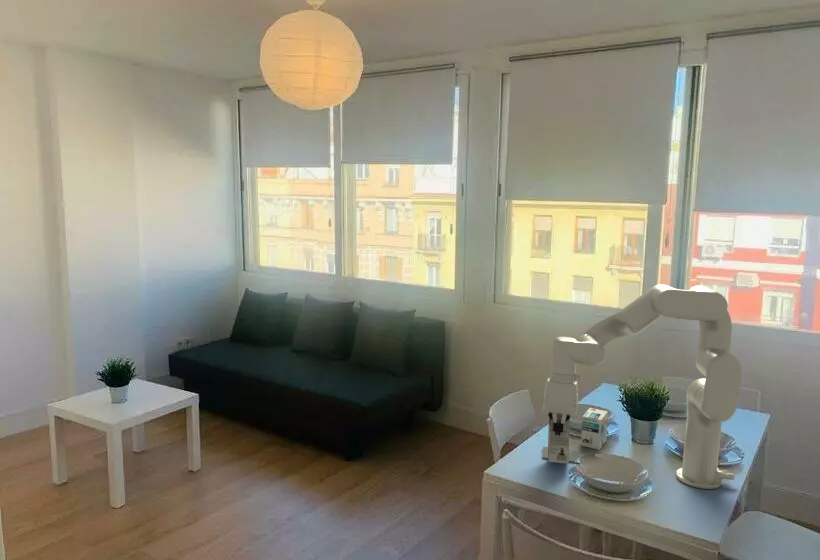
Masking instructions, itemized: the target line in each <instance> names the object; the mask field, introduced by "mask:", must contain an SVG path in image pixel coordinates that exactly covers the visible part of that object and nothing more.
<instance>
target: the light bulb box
mask: <svg viewBox="0 0 820 560" xmlns="http://www.w3.org/2000/svg"><path fill="white" fill-rule="evenodd" d="M608 419H609V412H608V411H607V410H602V409H597V408H592V407H589V408H588V409H587V410H586V412H584V415H582V421H581V422H582V423H581V440H580V446H581V447H585V448H589V449H594V450H598V451H600V450H601V448H602V447H603V445H605V443H606V441H607V434H608V433H607V432H608V423H609V422H608Z"/></svg>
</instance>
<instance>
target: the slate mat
mask: <svg viewBox="0 0 820 560" xmlns="http://www.w3.org/2000/svg"><path fill="white" fill-rule="evenodd" d="M580 453H581V451H580V450H576V449H575V450H574V449H569V463H570V462H571V463H573V464H575V463H574V462H575V461H576V460H577V459H578V458H579V457H580V458H581V454H580ZM541 457H542V460H547V461H548V446H543V447H542V456H541Z"/></svg>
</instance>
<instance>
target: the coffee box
mask: <svg viewBox="0 0 820 560" xmlns="http://www.w3.org/2000/svg"><path fill="white" fill-rule="evenodd" d="M561 416H562V414H557V419H558V425H559V421H560V419H561ZM553 424H554V422H553V420H552V419H551V418H550V417H549V416H548V432H547V433H548V434H547V435H548V436H547V437H548V438H547V439H548V441H547V447H548V460H547V462H549V463H558V464H559V463H560V464H570V462H569V450H570V419H569V420H567V421H566V422H565V423H564V425H563V433H562V432H561V434H560V436H559V435H555V432H554V431H553Z"/></svg>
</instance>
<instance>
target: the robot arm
mask: <svg viewBox="0 0 820 560" xmlns="http://www.w3.org/2000/svg"><path fill="white" fill-rule="evenodd" d="M728 307H729V305H728V301H727V299H726V297H725V296H724V295H722V293H720V292H718V291H715V290H713V289H711V288H709V287H706V286H704V285H694V286H692V287H690V288H688V289H679V288H674V287H672V286H669V285H667V284H661V283H660V284H656V285H654V286H652V287H651V288H649V289H648V290H646V291H645V292H644V293H642V294H641V295H640V296H638V297H637V298H635V299H634V300H633V301H631V302H630V303H628V304H627V305H626V306H625V307H624V308H622V309H621V310H620V311H618V312H616V313H613V314H612V315H611V314H610V316H608V317H605V318H604V319H602V320H600V321H598V322H596V323H595V324H594V325H593V326H591V327H590V328H588V329H587V330H585V331H584V332H583V333H582V334H581V335H579V336H578V337H577V339H576V338H573V337H570V336H557V337H555V338H554V339H553V341H552V350H551V351H552V352H551V361H550V373H549V377H548V378H547V379H546V383H545V387H544V393H543V395H544V396H543V402H542V403H543V405H542V406H543V407H542V409H541V414H542V415H544V416H548V418H549V417H550V418H551V419H552V420H553V422H554V424H553V431H554V432H555V435H559V436H560V434H561V432H562V433H563V425H564V423H565V422H566V421H567V420H569V419H571V420H572V419H577V418H578V413H577V410H578V398H579V396H578V394H579V390H578V380H581V375H580V374H577V372H576V371H577V364H580V365H585V366H589V367H595V366H599V365H601V364H602V363H604V361H605V360H606V356H607V354H606V350H605V348H604V347H606V346H607V345H608V344H610V343H611V342H613V341H615V340H617V339H620V338H622V337H623V338H624V337H631V336H636V335H638V334H640V333H642V332H643V331H645V330H646V329H648V328H649V326H651V325H653V324H654V323H655V322H657V321H658V320H659V319H661V318H662V317H663V318H667V319H674V320H684V321H698V323H699V335H698V343H697V347H696V349H697V350H696V354H695V367H696V369H697V370H698V371H699V372H700V373H701V374H702V376H705V378H704V377H703V378H702V377H701V378H698V379H695V380H694V381H692V382H691V383H690V384H689V385H688V388H687V390H686V425H685V434H684V435H685V436H684V446H683V455H682V456H683V457H682V467H680V468H678V469H677V470H676V473H675V474H676V475H675V476H676V478H677V479H678V481H681V482H682V483H684V484H685V485H688V486H689V487H692V488H697V489H702V490H714V489H715V490H716V489H718V488H720V487H721V486H722V482H723V481H722V480H723V479H724V480H727V481H728V480H729V481H734V480H735V474H734V473H732V472H731V473H730V472H728V470H726V469H719V467H718V463H719V453H720V444H721V443H720V441H721V435H722V423H725V422H727V421H729V420H731V419H732V417H733V416H734V415H735V413H736V411H737V408H738V404H739V399H740V398H739V396H740V391H741V385H742V379H743V370H742V365H741V363H740V361H739V358H737V356H735V355H734V354H732V353H731V344H732V343H731V342H732V331H733V327H732V326H733V325H732V319H731V315H730V312H729V311H728ZM557 414H562V416H561V419H560V421H559V425H558V419H557Z"/></svg>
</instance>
